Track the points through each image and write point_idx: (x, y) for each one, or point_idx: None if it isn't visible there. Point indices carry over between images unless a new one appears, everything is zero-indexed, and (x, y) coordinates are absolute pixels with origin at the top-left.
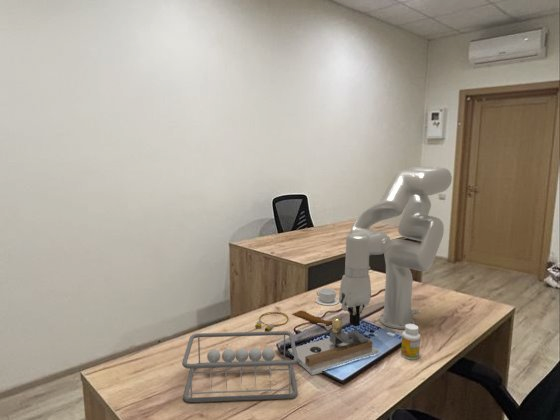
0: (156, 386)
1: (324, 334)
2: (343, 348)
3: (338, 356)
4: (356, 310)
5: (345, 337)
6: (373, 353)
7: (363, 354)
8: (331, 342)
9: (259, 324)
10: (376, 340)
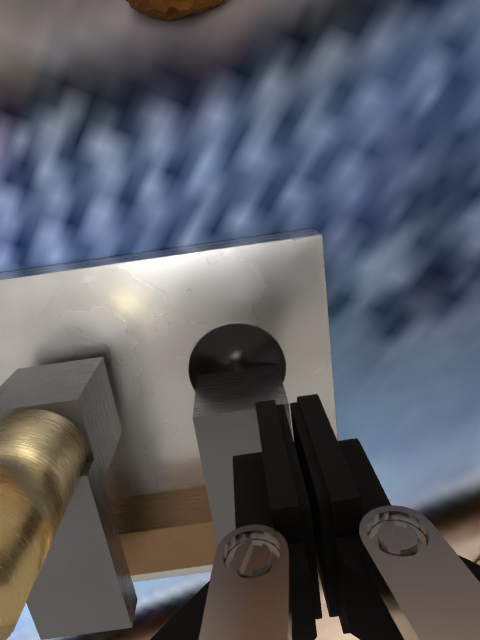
0: None
1: (83, 97)
2: None
3: None
4: (368, 614)
5: (66, 599)
6: None
7: (209, 567)
8: (45, 355)
9: None
10: (467, 364)
